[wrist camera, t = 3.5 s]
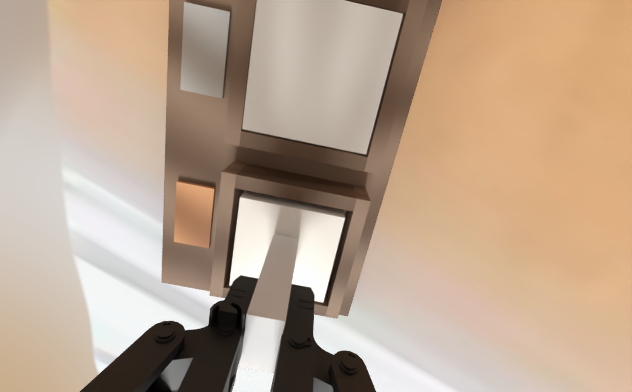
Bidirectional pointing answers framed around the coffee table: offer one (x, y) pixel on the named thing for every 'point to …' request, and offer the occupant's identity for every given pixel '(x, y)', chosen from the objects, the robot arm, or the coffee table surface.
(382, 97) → the button board
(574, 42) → the coffee table surface
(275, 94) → the button middle
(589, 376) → the coffee table surface
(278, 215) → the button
